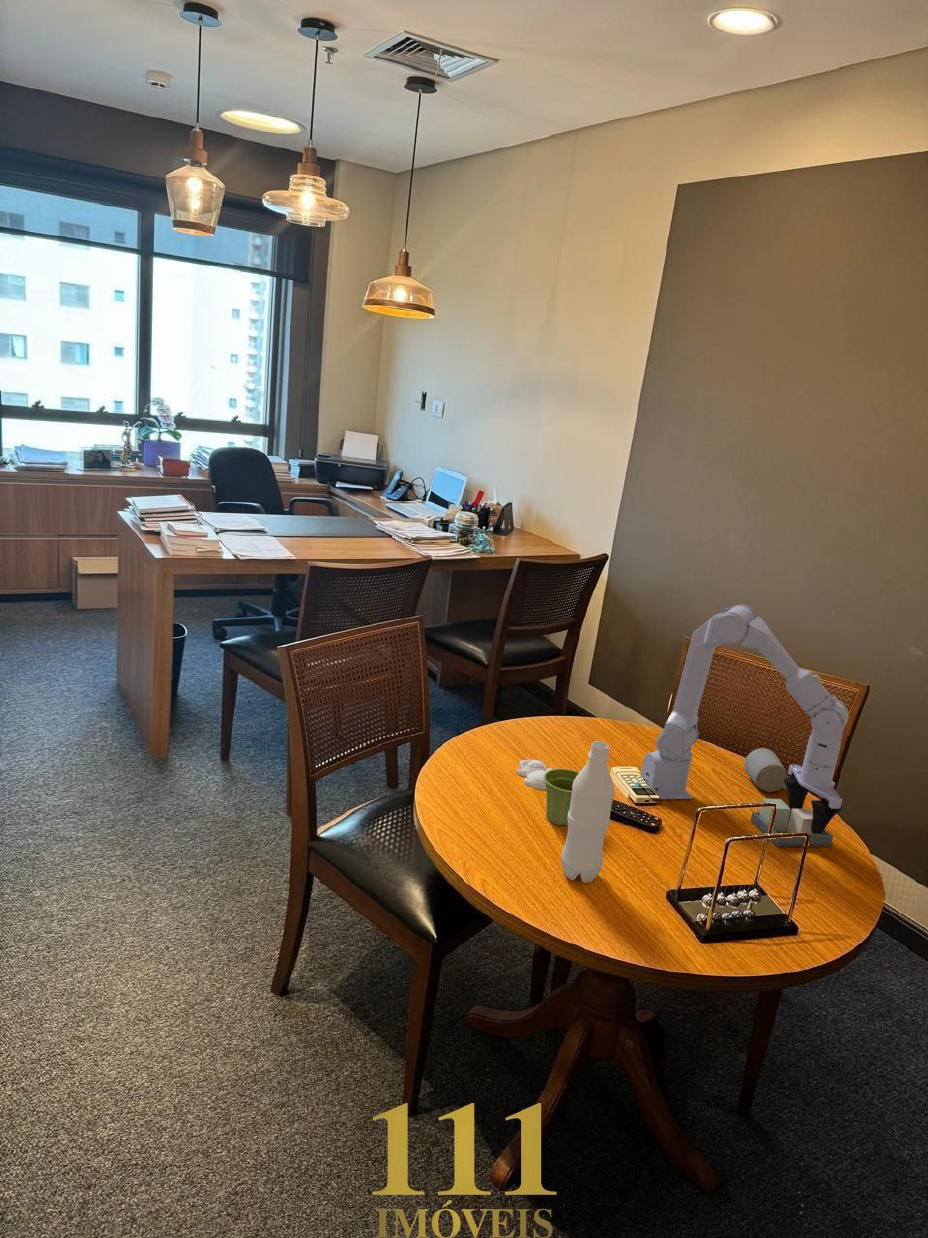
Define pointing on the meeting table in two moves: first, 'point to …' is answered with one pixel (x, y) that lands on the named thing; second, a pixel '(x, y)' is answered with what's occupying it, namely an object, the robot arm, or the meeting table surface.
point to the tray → (814, 840)
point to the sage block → (780, 816)
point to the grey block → (800, 821)
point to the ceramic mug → (766, 770)
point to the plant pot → (559, 794)
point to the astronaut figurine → (533, 773)
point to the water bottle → (589, 816)
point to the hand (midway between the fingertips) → (805, 823)
